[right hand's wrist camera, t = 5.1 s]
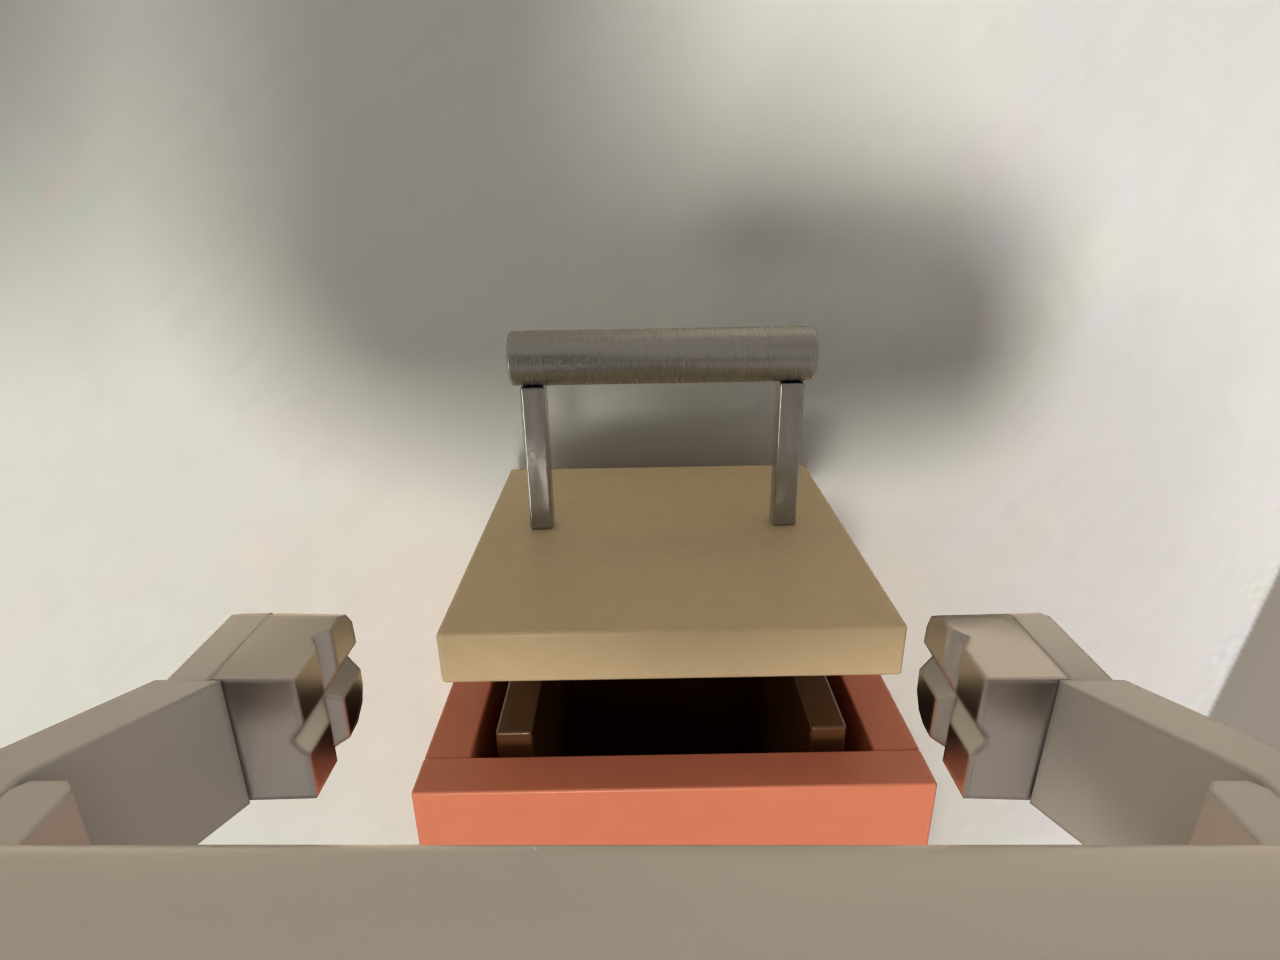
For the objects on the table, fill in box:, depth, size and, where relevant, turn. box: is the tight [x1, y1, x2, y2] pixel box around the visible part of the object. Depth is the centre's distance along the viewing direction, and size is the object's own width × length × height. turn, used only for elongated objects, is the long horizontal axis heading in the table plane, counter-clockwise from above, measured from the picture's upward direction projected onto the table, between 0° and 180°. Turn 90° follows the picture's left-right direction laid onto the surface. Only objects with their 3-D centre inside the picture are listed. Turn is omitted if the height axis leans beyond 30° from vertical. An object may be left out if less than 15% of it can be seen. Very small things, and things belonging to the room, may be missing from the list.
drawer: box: [437, 326, 907, 758], centre depth 21 cm, size 21×10×10 cm, turn 1°
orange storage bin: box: [412, 675, 937, 845], centre depth 23 cm, size 18×11×12 cm, turn 1°
